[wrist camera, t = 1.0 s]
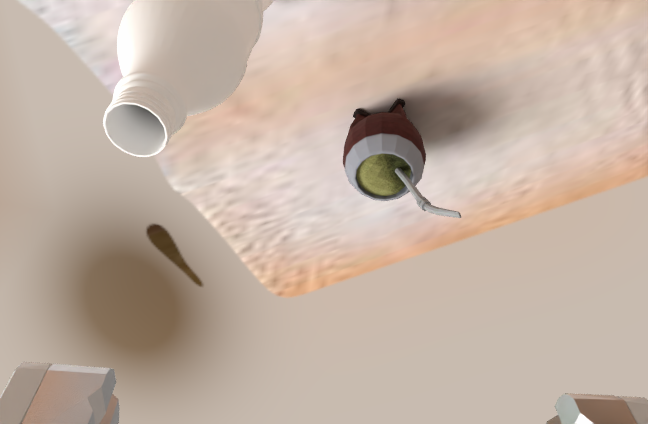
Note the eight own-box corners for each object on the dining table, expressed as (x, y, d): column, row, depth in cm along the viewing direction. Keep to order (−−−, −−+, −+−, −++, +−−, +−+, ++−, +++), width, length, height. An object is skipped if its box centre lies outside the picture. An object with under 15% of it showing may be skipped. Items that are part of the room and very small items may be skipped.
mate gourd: (333, 137, 56) (320, 246, 44) (374, 70, 51) (371, 173, 39) (401, 169, 57) (404, 281, 46) (447, 107, 53) (463, 215, 41)
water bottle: (198, -105, 43) (48, 38, 24) (293, -80, 44) (221, 79, 25) (191, -9, 48) (61, 174, 29) (277, 12, 48) (206, 205, 29)
